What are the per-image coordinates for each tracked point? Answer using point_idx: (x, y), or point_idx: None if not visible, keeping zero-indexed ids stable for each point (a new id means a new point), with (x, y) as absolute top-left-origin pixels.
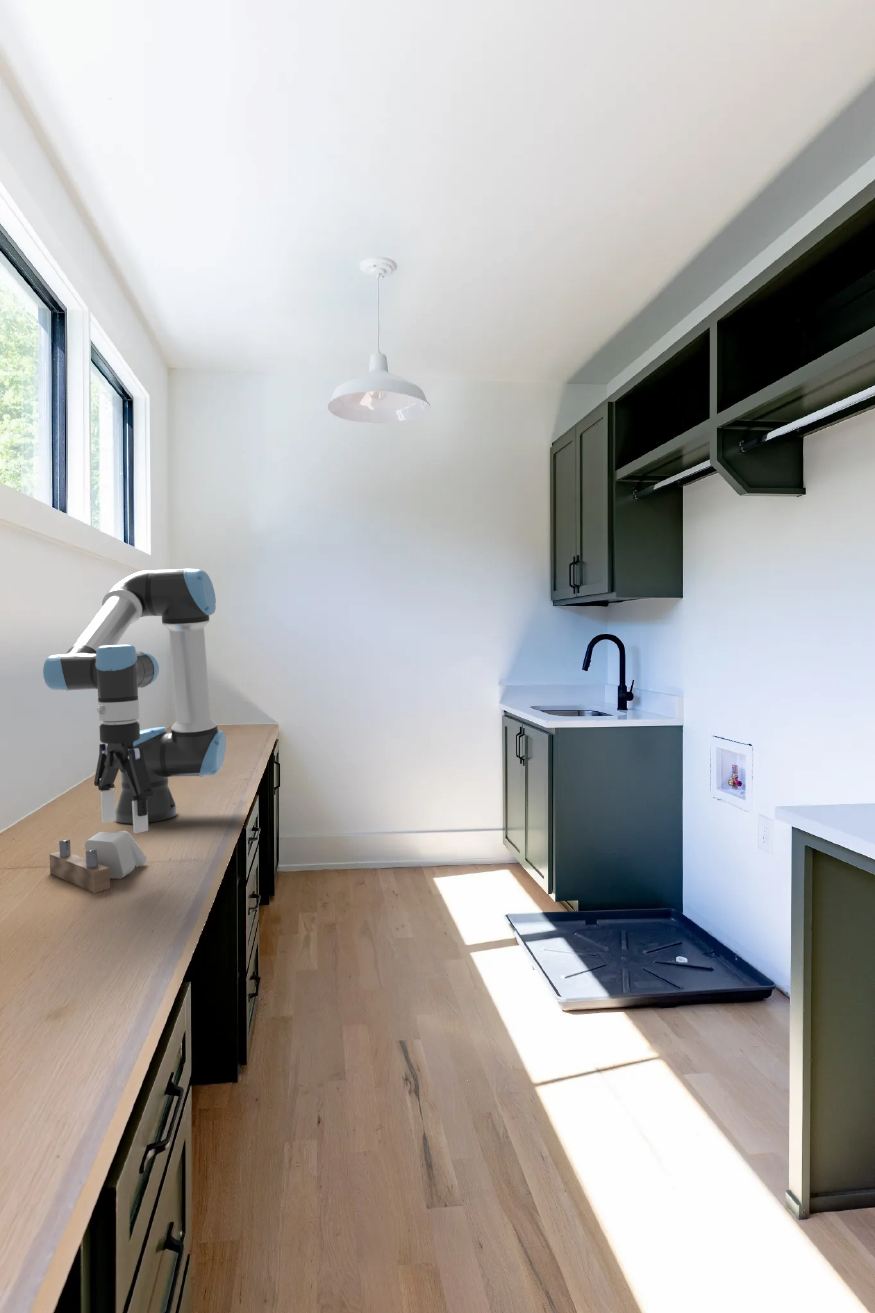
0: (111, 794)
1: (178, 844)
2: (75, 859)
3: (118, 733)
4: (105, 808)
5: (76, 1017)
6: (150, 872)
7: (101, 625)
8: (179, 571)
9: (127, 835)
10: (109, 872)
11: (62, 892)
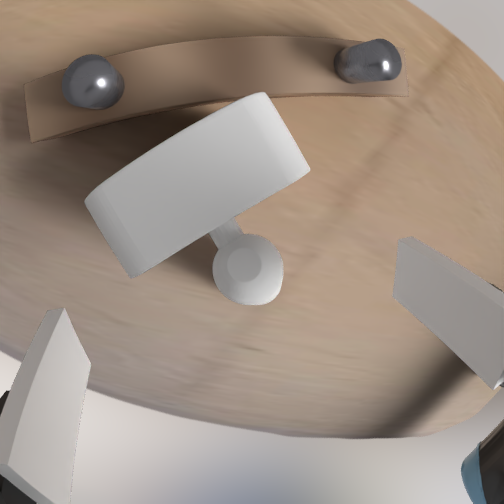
0: (483, 358)
1: (352, 374)
2: (262, 64)
3: None
4: (443, 284)
5: None
6: (153, 280)
7: None
8: None
9: (222, 291)
10: (38, 141)
11: (134, 12)
